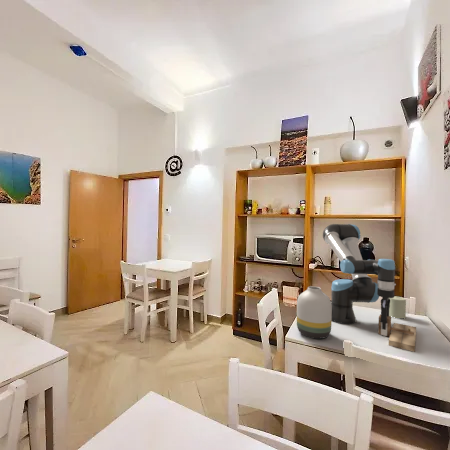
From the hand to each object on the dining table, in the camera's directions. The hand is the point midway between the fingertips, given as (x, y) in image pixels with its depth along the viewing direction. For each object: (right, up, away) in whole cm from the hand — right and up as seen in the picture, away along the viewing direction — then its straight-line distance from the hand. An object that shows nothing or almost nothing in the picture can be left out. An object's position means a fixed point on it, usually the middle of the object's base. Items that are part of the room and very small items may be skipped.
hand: (384, 333), depth 137 cm
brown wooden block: (+4, 0, -3) cm, 5 cm away
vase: (-38, 0, -2) cm, 38 cm away
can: (+24, -1, +27) cm, 36 cm away
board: (+6, 0, -5) cm, 8 cm away
